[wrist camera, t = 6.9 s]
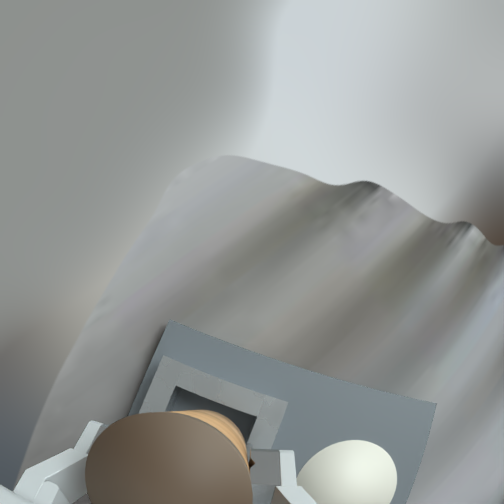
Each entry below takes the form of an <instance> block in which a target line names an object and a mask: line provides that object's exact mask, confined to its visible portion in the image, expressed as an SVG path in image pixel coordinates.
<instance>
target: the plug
mask: <svg viewBox="0 0 504 504" xmlns="http://www.w3.org/2000/svg"><path fill="white" fill-rule="evenodd" d="M85 482H86V488H87V492H88V495H89V499H90V501H91V503H92V504H253V492H252V485H251V478H250V471H249V465H248V458H247V450H246V443H245V440H244V437H243V435H242V433H241V431H240V429H239V428H238V427H237V426H236V424H235V423H234V422H233V421H231V420H230V419H229V418H227V417H226V416H224V415H222V414H220V413H218V412H214V411H210V410H187V411H171V412H148V413H140V414H135V415H131V416H128V417H125V418H123V419H120V420H118V421H116V422H115V423H113V424H111V425H110V426H109V427H107V428H106V429H105V430H104V431H103V432H102V433H101V434H100V435H99V436H98V437H97V438H96V440H95V441H94V443H93V444H92V446H91V449H90V451H89V453H88V456H87V460H86V466H85Z"/></svg>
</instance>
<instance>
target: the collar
mask: <svg viewBox="0 0 504 504" xmlns="http://www.w3.org/2000/svg"><path fill="white" fill-rule="evenodd" d="M182 388H183V389H185V390H188V391H190V392H192V393H195V394H197V395H200V396H202V397H205V398H207V399H210V400H212V401H215V402H217V403H220V404H223V405H225V406H228V407H231V408H234V409H236V410H239V411H242V412H245V413H248V414H251V415H254V416H255V418H254V420H253V423H252V425H251V428H250V430H249V433H248V436H247V438H246V441H245V443H246V450H247V458H248V464H249V459H250V450H251V449H271V447H272V445H273V442H274V440H275V437H276V435H277V432H278V429H279V427H280V424H281V421H282V419H283V416H284V413H285V410H286V408H287V405H288V402H286V401H283V400H280V399H277V398H274V397H271V396H268V395H265V394H262V393H259V392H256V391H253V390H250V389H247V388H244V387H241V386H239V385H236V384H233V383H230V382H228V381H225V380H222V379H220V378H217V377H215V376H212V375H210V374H207V373H205V372H202V371H200V370H197V369H195V368H192V367H190V366H187V365H185V364H183V363H180V362H178V361H176V360H173V359H171V358H169V357H167V356H164V355H163V357H162V359H161V362H160V364H159V366H158V369H157V371H156V373H155V376H154V378H153V380H152V383H151V385H150V387H149V390H148V392H147V394H146V397H145V399H144V402H143V404H142V406H141V409H140V411H139V414H140V413H148V412H171V411H172V410H173V408H174V406H175V403H176V401H177V398H178V396H179V393H180V391H181V389H182Z"/></svg>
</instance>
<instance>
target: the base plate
mask: <svg viewBox="0 0 504 504" xmlns="http://www.w3.org/2000/svg"><path fill="white" fill-rule="evenodd" d="M163 355H164V356H167V357H169V358H171V359H173V360H176V361H178V362H180V363H183V364H185V365H187V366H190V367H192V368H195V369H197V370H200V371H202V372H205V373H207V374H210V375H212V376H215V377H217V378H220V379H222V380H225V381H228V382H230V383H233V384H236V385H239V386H241V387H244V388H247V389H250V390H253V391H256V392H259V393H262V394H265V395H268V396H271V397H274V398H277V399H280V400H283V401H286V402H288V405H287V408H286V410H285V413H284V416H283V419H282V421H281V424H280V427H279V429H278V432H277V435H276V437H275V440H274V442H273V445H272V447H271V449H276V450H293V451H294V456H295V468H296V480H297V486H301V487H302V488H303V489H304V490H305V491H306V492H307V493H308V494H309V495H310V496H311V497H312V498H313V499H314V500H315V502H316V503H317V504H406V502H407V499H408V497H409V494H410V491H411V489H412V486H413V483H414V481H415V478H416V475H417V472H418V469H419V466H420V463H421V460H422V457H423V453H424V450H425V447H426V443H427V440H428V436H429V433H430V429H431V425H432V421H433V417H434V413H435V409H436V405H437V403H432V402H427V401H422V400H418V399H413V398H409V397H405V396H400V395H396V394H392V393H388V392H384V391H380V390H376V389H372V388H369V387H365V386H361V385H357V384H354V383H350V382H347V381H343V380H339V379H336V378H333V377H329V376H326V375H322V374H319V373H316V372H313V371H309V370H306V369H303V368H300V367H297V366H294V365H291V364H288V363H284V362H281V361H278V360H276V359H273V358H270V357H267V356H264V355H261V354H258V353H255V352H252V351H250V350H247V349H244V348H241V347H239V346H236V345H233V344H230V343H228V342H225V341H223V340H220V339H217V338H215V337H212V336H210V335H207V334H204V333H202V332H199V331H197V330H194V329H192V328H189V327H187V326H185V325H182V324H180V323H177V322H175V321H172V320H169V322H168V324H167V327H166V329H165V331H164V333H163V335H162V338H161V340H160V342H159V344H158V347H157V349H156V351H155V353H154V356H153V358H152V360H151V363H150V365H149V367H148V369H147V372H146V374H145V376H144V379H143V381H142V383H141V386H140V388H139V390H138V393H137V395H136V398H135V400H134V402H133V405H132V407H131V410H130V412H129V414H128V416H131V415H135V414H139V411H140V409H141V406H142V404H143V402H144V399H145V397H146V394H147V392H148V390H149V387H150V385H151V383H152V380H153V378H154V376H155V373H156V371H157V369H158V366H159V364H160V362H161V359H162V357H163ZM187 410H210V411H214V412H218V413H220V414H222V415H224V416H226V417H227V418H229V419H230V420H231V421H233V422H234V423H235V424H236V426H237V427H238V428H239V429H240V431H241V433H242V435H243V437H244V440H245V441H246V438H247V436H248V433H249V430H250V428H251V425H252V423H253V420H254V418H255V416H254V415H251V414H248V413H245V412H242V411H239V410H236V409H234V408H231V407H228V406H225V405H223V404H220V403H217V402H215V401H212V400H210V399H207V398H205V397H202V396H200V395H197V394H195V393H192V392H190V391H188V390H185V389H183V388H182V389H181V391H180V393H179V396H178V398H177V401H176V403H175V406H174V408H173V410H172V411H187Z"/></svg>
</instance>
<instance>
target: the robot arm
mask: <svg viewBox="0 0 504 504" xmlns="http://www.w3.org/2000/svg"><path fill="white" fill-rule="evenodd" d="M109 426H110V425H106V424H103V423H100V422H96V421H93V420H91V421H90V422H89V423H88V424H87V426H86V428H85V430H84V431H83V433H82V435H81V437H80V439H79V440H78V442H77V444H76V446H75V448H74V449H72V448H70V449H68V450H66V451H64V452H62V453H60V454H58V455H56V456H54V457H51V458H49V459H47V460H45V461H43V462H41V463H39V464H37V465H35V466H33V467H30V468H28V469H26V471H25V472H24V474H23V476H22V477H21V479H20V481H19V482H18V484H17V486H16V487H15V489H14V491H13V492H12V491H10V490H9V489H7V488H5V487H4V486H2V485H0V504H72V503H73V502H75V501H76V500H78V499H79V498H80V497H82V496H83V495H85V494H86V493H88V492H87V488H86V482H85V466H86V460H87V456H88V453H89V451H90V449H91V446H92V444H93V443H94V441H95V440H96V438H97V437H98V436H99V435H100V434H101V433H102V432H103V431H104V430H105V429H106V428H107V427H109ZM248 465H249V471H250V478H251V485H252V492H253V504H317V503H316V502H315V500H314V499H313V498H312V497H311V496H310V495H309V494H308V493H307V492H306V491H305V490H304V489H303V488H302V487H301V486H297V480H296V468H295V456H294V451H293V450H276V449H251V450H250V459H249V464H248Z"/></svg>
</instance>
